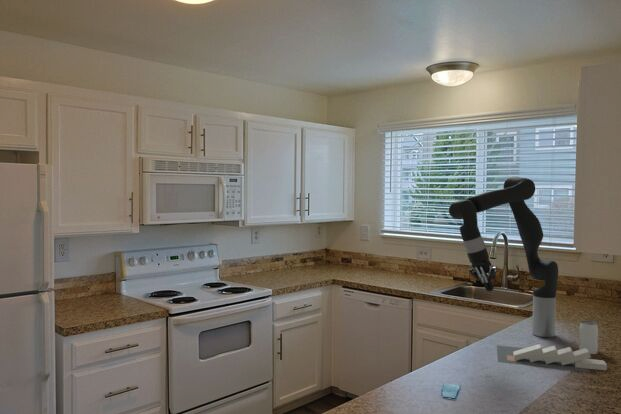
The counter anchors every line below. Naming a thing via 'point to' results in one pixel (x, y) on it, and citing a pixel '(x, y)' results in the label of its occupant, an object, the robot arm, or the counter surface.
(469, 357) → the counter surface
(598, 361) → the domino
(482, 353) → the counter surface
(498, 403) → the counter surface
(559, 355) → the domino
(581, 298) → the counter surface
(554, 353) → the domino
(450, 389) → the sponge
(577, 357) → the domino
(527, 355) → the domino
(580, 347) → the can
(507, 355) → the slate mat
